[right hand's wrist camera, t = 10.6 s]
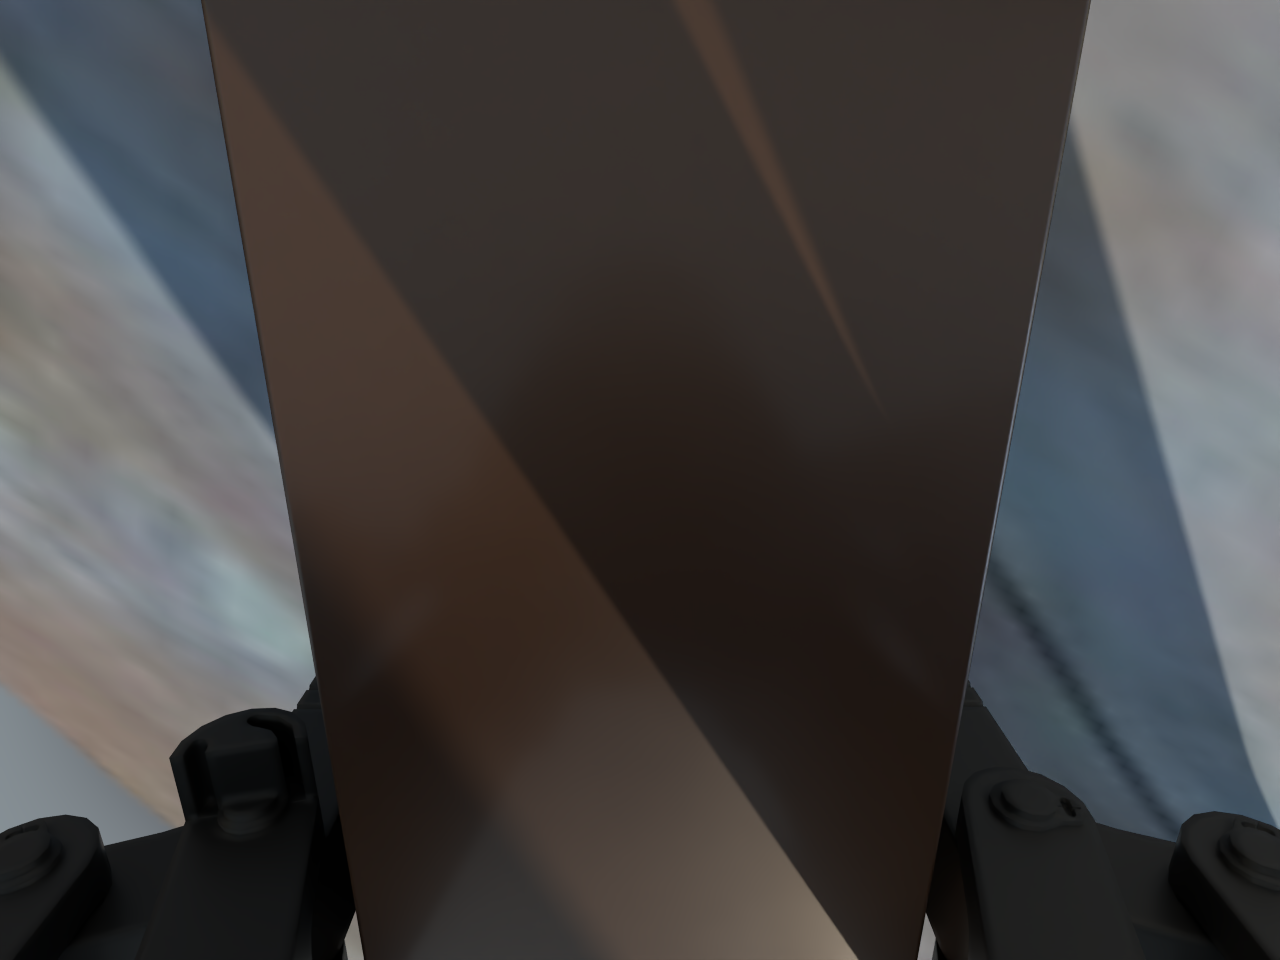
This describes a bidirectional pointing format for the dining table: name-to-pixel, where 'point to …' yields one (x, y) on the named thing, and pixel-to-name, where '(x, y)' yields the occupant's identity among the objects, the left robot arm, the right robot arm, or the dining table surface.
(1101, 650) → the dining table surface
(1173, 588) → the dining table surface
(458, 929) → the walnut beam
